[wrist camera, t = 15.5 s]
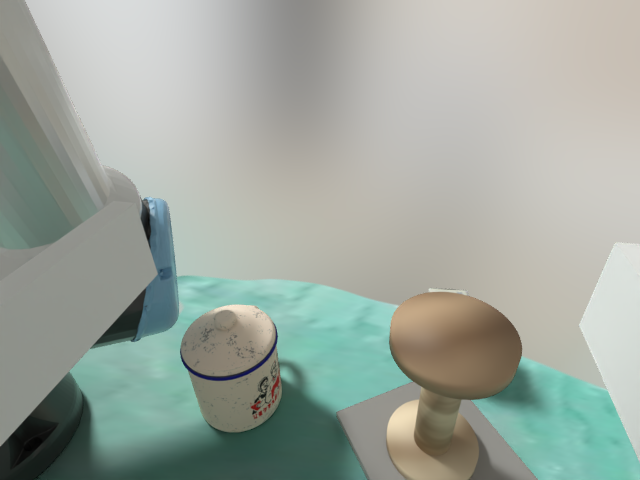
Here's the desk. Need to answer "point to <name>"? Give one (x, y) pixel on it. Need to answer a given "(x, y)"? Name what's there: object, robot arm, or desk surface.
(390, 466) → the mat
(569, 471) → the desk surface
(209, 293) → the desk surface
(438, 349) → the stool
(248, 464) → the desk surface
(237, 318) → the teacup with lid
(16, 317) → the robot arm
